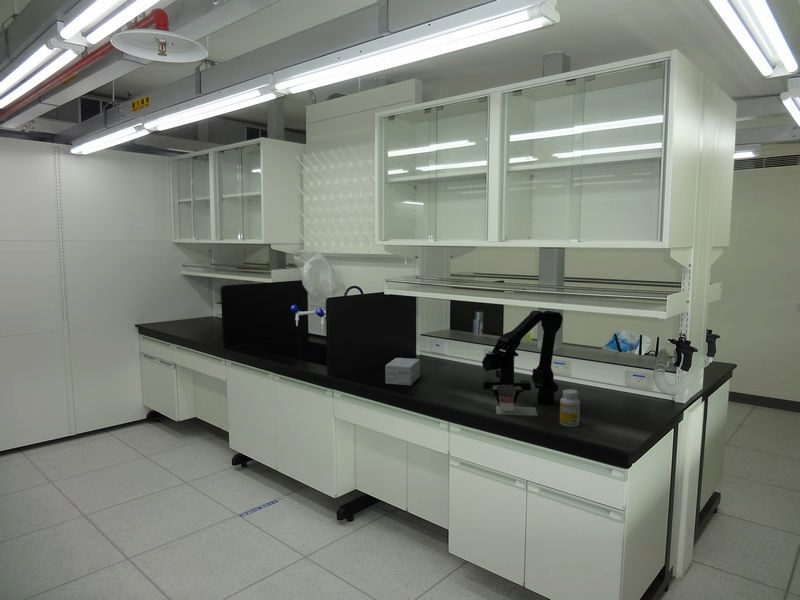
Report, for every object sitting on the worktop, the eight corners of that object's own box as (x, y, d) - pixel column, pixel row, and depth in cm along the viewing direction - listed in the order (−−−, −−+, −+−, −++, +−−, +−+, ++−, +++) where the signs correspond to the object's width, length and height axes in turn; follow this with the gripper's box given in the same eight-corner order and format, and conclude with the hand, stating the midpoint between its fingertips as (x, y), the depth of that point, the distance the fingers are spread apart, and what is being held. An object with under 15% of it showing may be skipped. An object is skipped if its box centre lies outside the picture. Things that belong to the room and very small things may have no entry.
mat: (535, 408, 218) (535, 407, 218) (537, 416, 209) (537, 415, 209) (495, 407, 221) (495, 406, 221) (496, 415, 211) (496, 413, 211)
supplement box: (395, 375, 275) (395, 357, 274) (420, 376, 271) (420, 358, 270) (384, 383, 259) (384, 364, 258) (410, 385, 255) (410, 366, 254)
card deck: (513, 410, 210) (513, 403, 209) (499, 410, 211) (499, 402, 210) (512, 404, 218) (512, 397, 217) (499, 404, 218) (499, 396, 218)
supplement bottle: (565, 419, 205) (566, 387, 204) (583, 424, 200) (584, 391, 198) (556, 424, 200) (556, 391, 199) (573, 429, 195) (574, 395, 194)
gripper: (529, 363, 219) (528, 400, 221) (483, 362, 222) (483, 398, 223) (531, 370, 208) (530, 408, 210) (483, 369, 211) (483, 407, 212)
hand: (506, 405), depth 214 cm, fingers closed on card deck, 5 cm apart
